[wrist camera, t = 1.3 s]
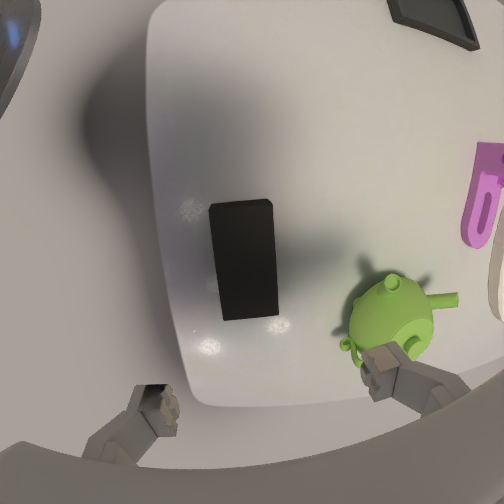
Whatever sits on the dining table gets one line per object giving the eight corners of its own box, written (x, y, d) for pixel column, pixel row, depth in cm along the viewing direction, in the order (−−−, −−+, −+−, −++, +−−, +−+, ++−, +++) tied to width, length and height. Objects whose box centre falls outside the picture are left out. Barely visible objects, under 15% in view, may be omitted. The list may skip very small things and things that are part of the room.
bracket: (477, 142, 24) (517, 144, 17) (498, 160, 24) (535, 165, 18) (455, 239, 27) (494, 258, 21) (478, 249, 28) (513, 267, 21)
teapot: (317, 340, 30) (340, 392, 22) (361, 246, 26) (406, 278, 18) (389, 352, 31) (420, 394, 23) (431, 274, 28) (476, 304, 20)
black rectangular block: (211, 204, 24) (208, 209, 21) (267, 198, 24) (272, 203, 22) (224, 305, 27) (223, 321, 25) (274, 300, 28) (279, 315, 25)
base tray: (393, 21, 19) (402, 15, 17) (375, -31, 16) (381, -38, 14) (471, 51, 19) (480, 48, 18) (453, 0, 17) (461, -4, 15)
